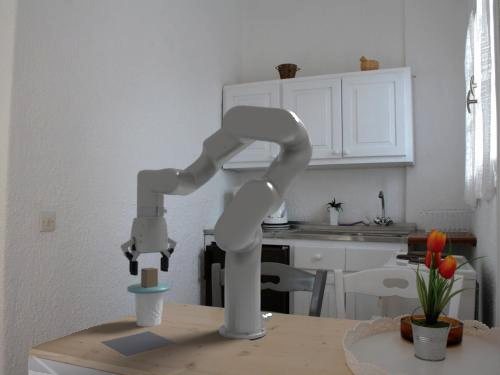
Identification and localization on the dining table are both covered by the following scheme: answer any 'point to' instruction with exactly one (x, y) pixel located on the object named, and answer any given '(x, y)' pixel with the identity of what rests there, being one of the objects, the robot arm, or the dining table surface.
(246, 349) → the dining table surface
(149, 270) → the lid
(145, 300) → the white cup
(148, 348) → the mat
